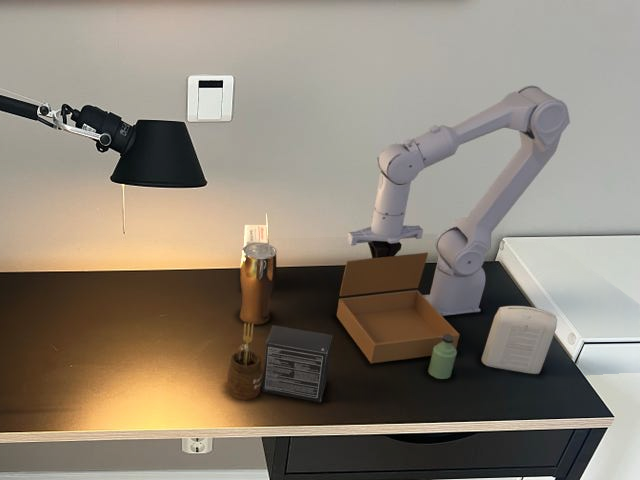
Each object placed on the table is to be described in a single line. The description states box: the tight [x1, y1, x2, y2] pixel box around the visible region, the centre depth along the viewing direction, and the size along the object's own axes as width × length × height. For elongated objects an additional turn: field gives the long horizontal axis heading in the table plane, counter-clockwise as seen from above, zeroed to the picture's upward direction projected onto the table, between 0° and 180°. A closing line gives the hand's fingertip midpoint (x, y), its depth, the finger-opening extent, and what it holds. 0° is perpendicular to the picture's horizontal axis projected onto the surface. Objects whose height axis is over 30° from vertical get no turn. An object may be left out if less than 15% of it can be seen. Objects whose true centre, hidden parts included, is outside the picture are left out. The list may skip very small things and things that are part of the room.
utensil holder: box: [226, 322, 263, 401], centre depth 130 cm, size 6×6×12 cm
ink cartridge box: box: [243, 212, 270, 248], centre depth 160 cm, size 9×5×15 cm, turn 177°
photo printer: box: [481, 305, 558, 375], centre depth 135 cm, size 10×4×12 cm, turn 72°
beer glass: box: [239, 243, 278, 326], centre depth 148 cm, size 7×7×15 cm
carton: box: [336, 289, 460, 364], centre depth 146 cm, size 17×17×4 cm
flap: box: [339, 252, 429, 297], centre depth 148 cm, size 8×17×1 cm
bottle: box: [427, 334, 458, 380], centre depth 134 cm, size 4×4×8 cm
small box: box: [261, 325, 333, 403], centre depth 131 cm, size 11×6×10 cm, turn 71°
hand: (378, 273), depth 150 cm, fingers closed, pressing on flap
